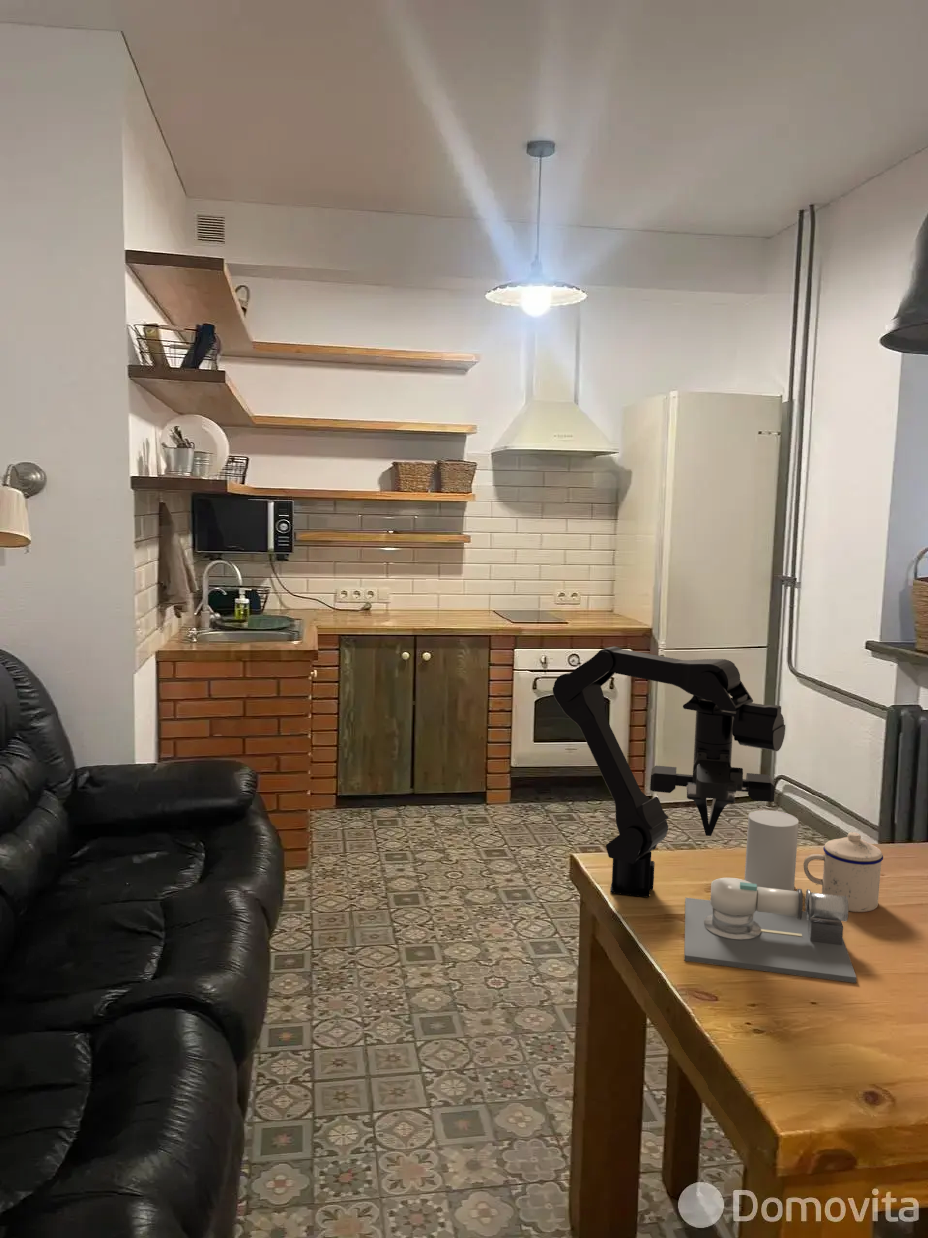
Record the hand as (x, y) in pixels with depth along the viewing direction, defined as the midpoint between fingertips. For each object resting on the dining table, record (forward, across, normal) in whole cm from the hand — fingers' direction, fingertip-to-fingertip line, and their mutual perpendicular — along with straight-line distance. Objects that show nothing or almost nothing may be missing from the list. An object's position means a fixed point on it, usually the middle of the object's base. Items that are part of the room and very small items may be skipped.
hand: (708, 835), depth 147 cm
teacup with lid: (+13, +22, +10) cm, 27 cm away
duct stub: (+12, +4, -7) cm, 15 cm away
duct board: (+12, +8, -8) cm, 17 cm away
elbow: (+9, +7, -7) cm, 13 cm away
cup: (+13, +11, +13) cm, 21 cm away
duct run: (+12, +17, -7) cm, 22 cm away
